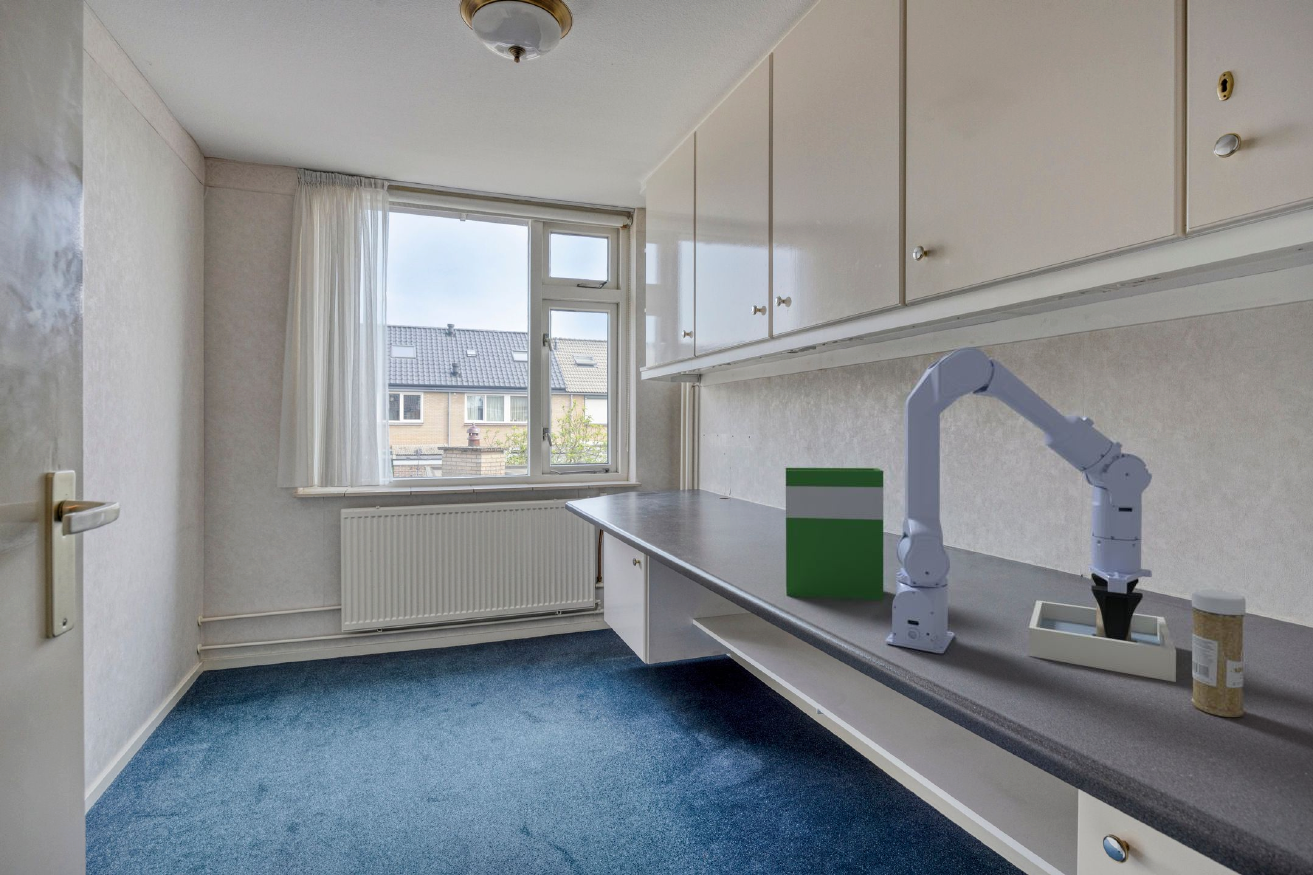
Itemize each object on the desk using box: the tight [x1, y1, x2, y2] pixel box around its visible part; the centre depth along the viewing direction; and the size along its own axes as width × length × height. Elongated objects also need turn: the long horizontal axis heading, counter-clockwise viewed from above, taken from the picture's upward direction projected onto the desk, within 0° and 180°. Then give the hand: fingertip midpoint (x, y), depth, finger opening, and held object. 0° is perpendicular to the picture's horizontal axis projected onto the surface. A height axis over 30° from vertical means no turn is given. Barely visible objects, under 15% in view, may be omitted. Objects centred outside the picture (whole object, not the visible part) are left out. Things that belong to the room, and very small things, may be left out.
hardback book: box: [785, 467, 884, 601], centre depth 121 cm, size 18×7×24 cm, turn 79°
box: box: [1028, 600, 1177, 683], centre depth 90 cm, size 16×16×4 cm
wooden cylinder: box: [1096, 601, 1131, 642], centre depth 89 cm, size 4×4×8 cm
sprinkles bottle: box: [1191, 588, 1247, 718], centre depth 71 cm, size 5×5×13 cm
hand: (1114, 631), depth 89 cm, fingers open, 7 cm apart
